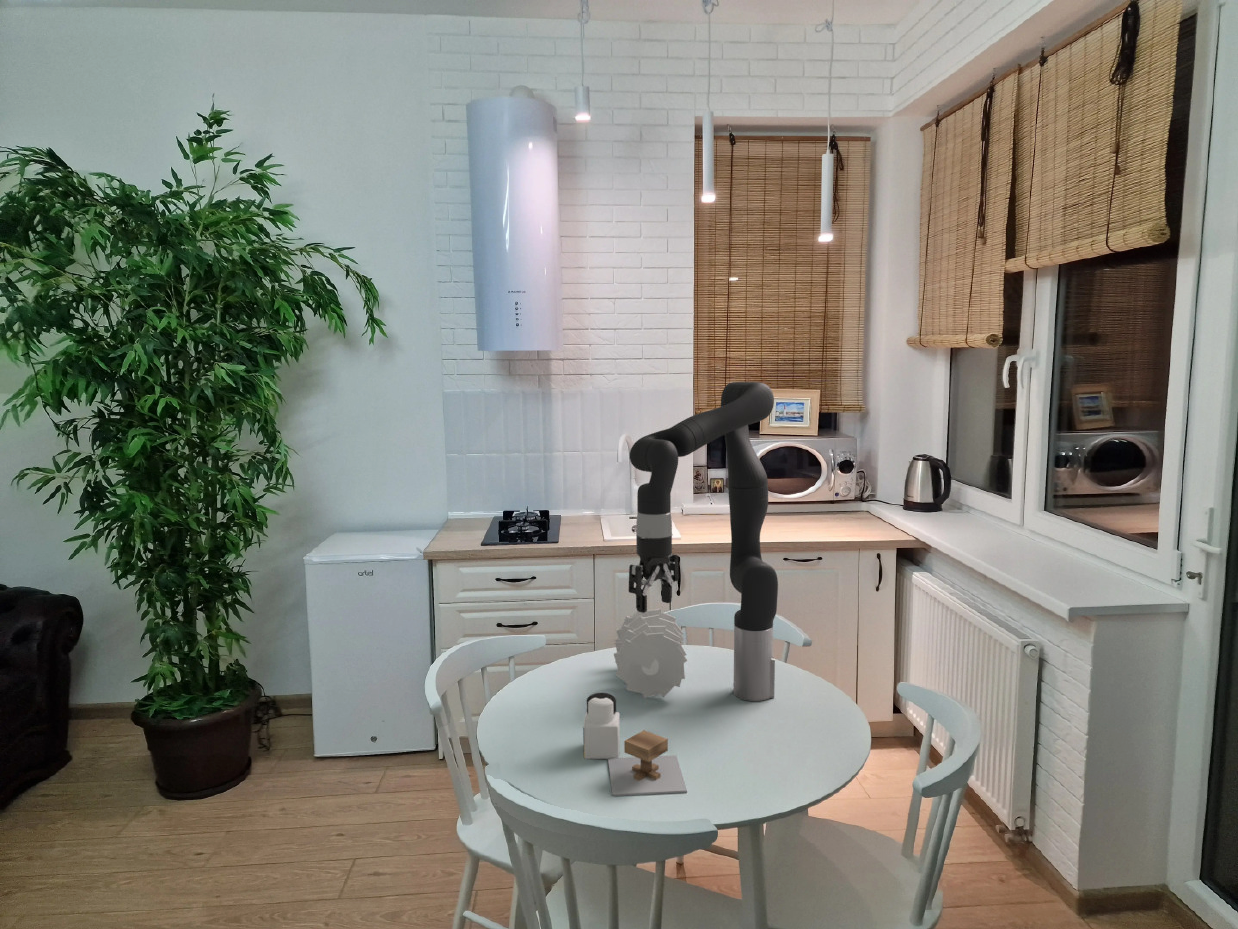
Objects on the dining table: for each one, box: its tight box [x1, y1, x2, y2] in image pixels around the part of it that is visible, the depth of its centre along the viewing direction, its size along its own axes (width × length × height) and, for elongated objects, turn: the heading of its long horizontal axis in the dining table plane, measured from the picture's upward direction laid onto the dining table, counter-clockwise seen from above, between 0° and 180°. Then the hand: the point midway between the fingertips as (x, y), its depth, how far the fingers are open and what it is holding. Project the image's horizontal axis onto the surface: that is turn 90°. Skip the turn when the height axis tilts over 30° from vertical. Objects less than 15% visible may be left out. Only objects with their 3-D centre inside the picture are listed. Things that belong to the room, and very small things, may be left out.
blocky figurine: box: [582, 692, 621, 760], centre depth 173 cm, size 7×7×12 cm
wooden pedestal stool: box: [623, 730, 669, 781], centre depth 163 cm, size 6×6×7 cm
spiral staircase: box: [613, 608, 688, 699], centre depth 208 cm, size 18×18×25 cm
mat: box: [607, 754, 688, 797], centre depth 163 cm, size 14×14×1 cm
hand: (654, 607), depth 179 cm, fingers open, 8 cm apart
